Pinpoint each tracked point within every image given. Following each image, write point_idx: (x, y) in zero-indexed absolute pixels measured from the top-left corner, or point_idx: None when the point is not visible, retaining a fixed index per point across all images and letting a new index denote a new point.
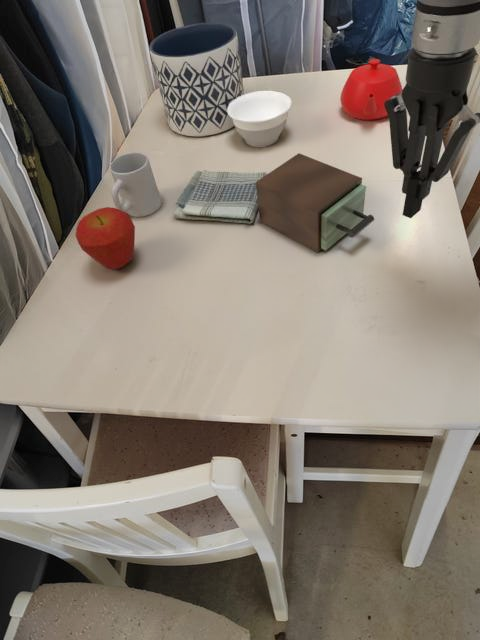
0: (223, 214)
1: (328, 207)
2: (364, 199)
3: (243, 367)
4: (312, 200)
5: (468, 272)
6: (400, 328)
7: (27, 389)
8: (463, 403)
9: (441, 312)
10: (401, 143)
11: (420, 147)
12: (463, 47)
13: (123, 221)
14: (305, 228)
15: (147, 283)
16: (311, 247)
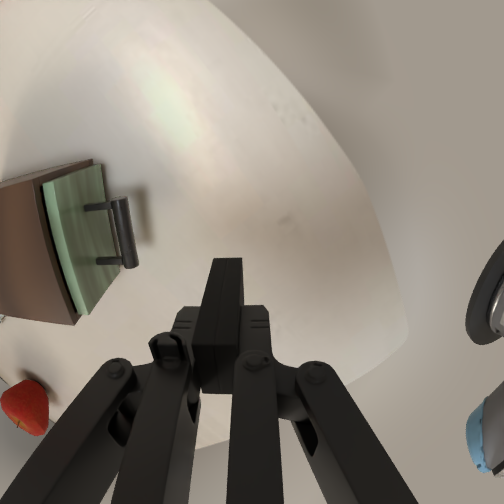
0: None
1: (50, 228)
2: (73, 174)
3: (211, 416)
4: (43, 305)
5: (338, 148)
6: (310, 311)
7: None
8: (400, 335)
9: (343, 255)
10: (104, 469)
11: (178, 470)
12: None
13: (22, 417)
14: None
15: (70, 393)
16: None
